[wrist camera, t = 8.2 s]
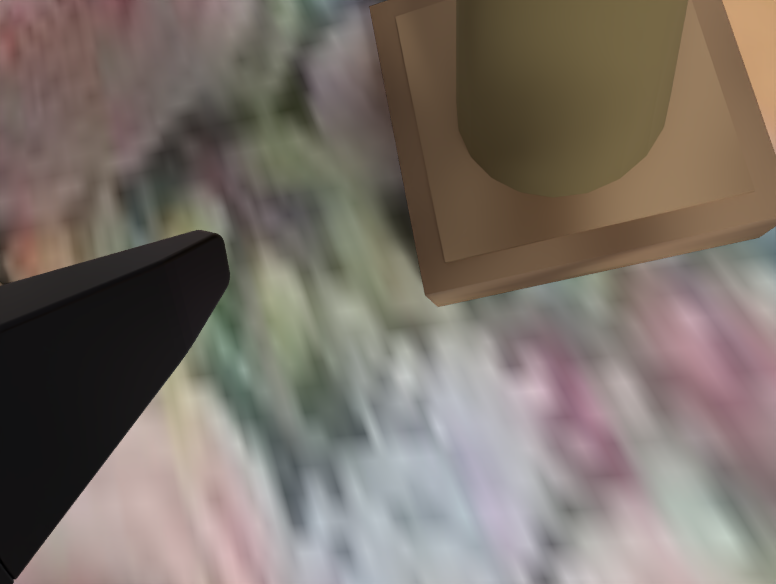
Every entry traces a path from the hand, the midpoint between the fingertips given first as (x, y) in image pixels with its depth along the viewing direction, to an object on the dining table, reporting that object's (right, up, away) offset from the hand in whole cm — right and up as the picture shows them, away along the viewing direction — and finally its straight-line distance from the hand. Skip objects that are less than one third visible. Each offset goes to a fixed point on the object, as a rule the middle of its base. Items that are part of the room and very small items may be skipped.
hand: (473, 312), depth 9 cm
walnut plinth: (+4, +6, +10) cm, 13 cm away
